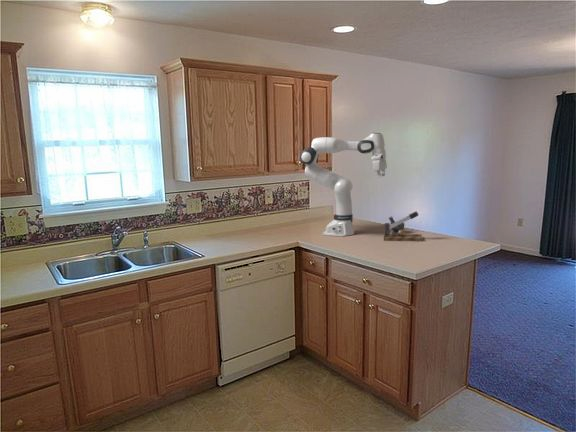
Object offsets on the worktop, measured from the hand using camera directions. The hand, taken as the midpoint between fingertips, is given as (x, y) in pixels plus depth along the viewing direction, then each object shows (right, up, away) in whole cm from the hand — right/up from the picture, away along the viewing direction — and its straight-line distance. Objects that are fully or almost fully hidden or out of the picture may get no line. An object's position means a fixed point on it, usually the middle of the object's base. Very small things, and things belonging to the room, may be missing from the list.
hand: (381, 176), depth 281 cm
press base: (+12, -42, -9) cm, 45 cm away
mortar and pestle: (+13, -39, +10) cm, 42 cm away
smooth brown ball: (+11, -40, -9) cm, 43 cm away
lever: (+12, -31, -11) cm, 35 cm away
